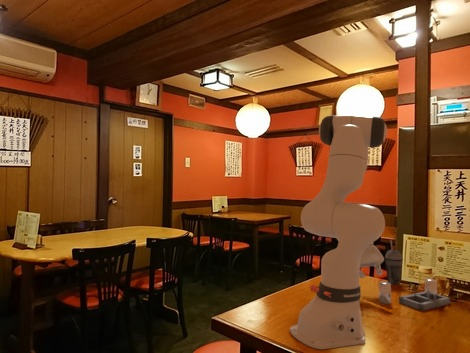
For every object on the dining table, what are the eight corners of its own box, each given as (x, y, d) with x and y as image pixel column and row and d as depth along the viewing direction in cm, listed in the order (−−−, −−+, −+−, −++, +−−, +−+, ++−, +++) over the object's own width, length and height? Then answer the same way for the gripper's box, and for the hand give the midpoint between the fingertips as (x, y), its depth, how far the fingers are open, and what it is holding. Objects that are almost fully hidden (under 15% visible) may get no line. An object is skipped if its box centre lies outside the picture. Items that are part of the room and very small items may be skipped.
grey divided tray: (421, 313, 118) (421, 305, 118) (398, 305, 126) (398, 297, 126) (449, 306, 125) (449, 298, 125) (426, 298, 133) (426, 290, 133)
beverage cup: (404, 288, 146) (405, 241, 146) (386, 286, 147) (386, 240, 148) (400, 283, 153) (400, 238, 153) (382, 282, 154) (383, 237, 155)
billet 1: (385, 307, 123) (385, 285, 123) (376, 304, 127) (376, 282, 127) (393, 305, 125) (393, 284, 125) (383, 302, 129) (384, 281, 129)
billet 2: (432, 304, 124) (432, 282, 124) (422, 300, 128) (422, 279, 128) (439, 302, 126) (439, 280, 126) (429, 298, 130) (429, 277, 130)
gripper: (337, 243, 133) (357, 274, 124) (374, 239, 143) (395, 268, 134) (329, 252, 137) (347, 283, 128) (366, 248, 146) (385, 276, 138)
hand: (372, 275), depth 131 cm, fingers open, 8 cm apart
